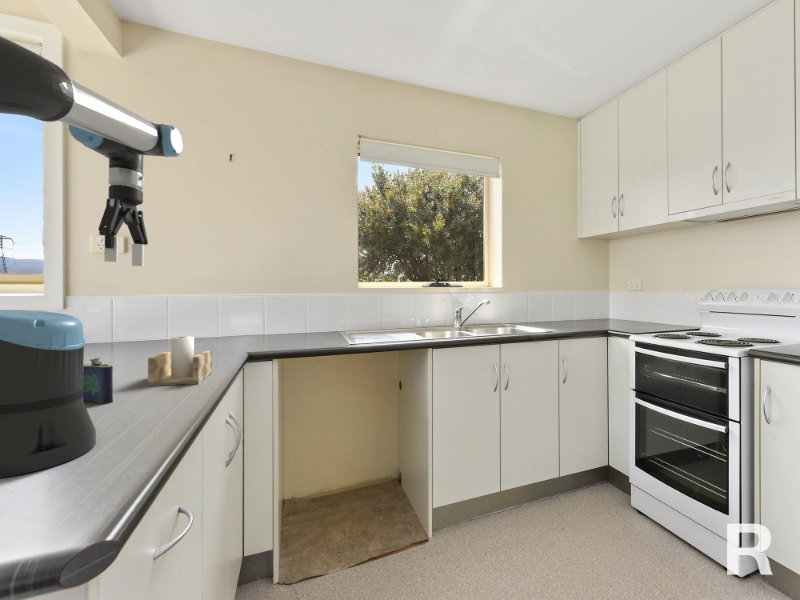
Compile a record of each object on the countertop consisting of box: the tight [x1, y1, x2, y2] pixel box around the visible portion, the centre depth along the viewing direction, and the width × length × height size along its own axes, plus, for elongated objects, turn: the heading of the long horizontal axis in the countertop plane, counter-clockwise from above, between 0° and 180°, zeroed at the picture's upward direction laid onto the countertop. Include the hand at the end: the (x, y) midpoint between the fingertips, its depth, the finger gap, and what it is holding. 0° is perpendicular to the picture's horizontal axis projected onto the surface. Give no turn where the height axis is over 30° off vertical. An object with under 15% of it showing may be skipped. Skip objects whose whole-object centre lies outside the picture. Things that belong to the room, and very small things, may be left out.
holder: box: [147, 349, 213, 387], centre depth 107 cm, size 14×13×8 cm
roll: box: [170, 335, 195, 379], centre depth 107 cm, size 6×6×12 cm
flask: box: [83, 357, 114, 405], centre depth 84 cm, size 9×3×11 cm, turn 83°
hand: (125, 264), depth 96 cm, fingers open, 13 cm apart
